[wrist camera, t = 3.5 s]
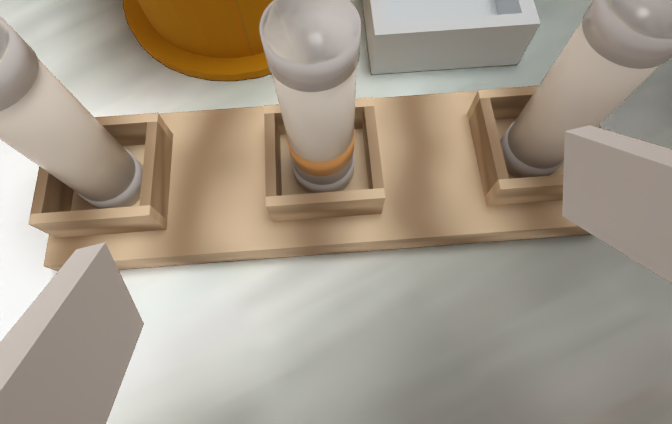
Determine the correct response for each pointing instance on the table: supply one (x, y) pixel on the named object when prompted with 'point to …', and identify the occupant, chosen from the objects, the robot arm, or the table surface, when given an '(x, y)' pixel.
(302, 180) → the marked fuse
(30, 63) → the fuse
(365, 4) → the tray
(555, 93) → the fuse
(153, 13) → the spool
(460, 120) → the fuse block
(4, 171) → the table surface
